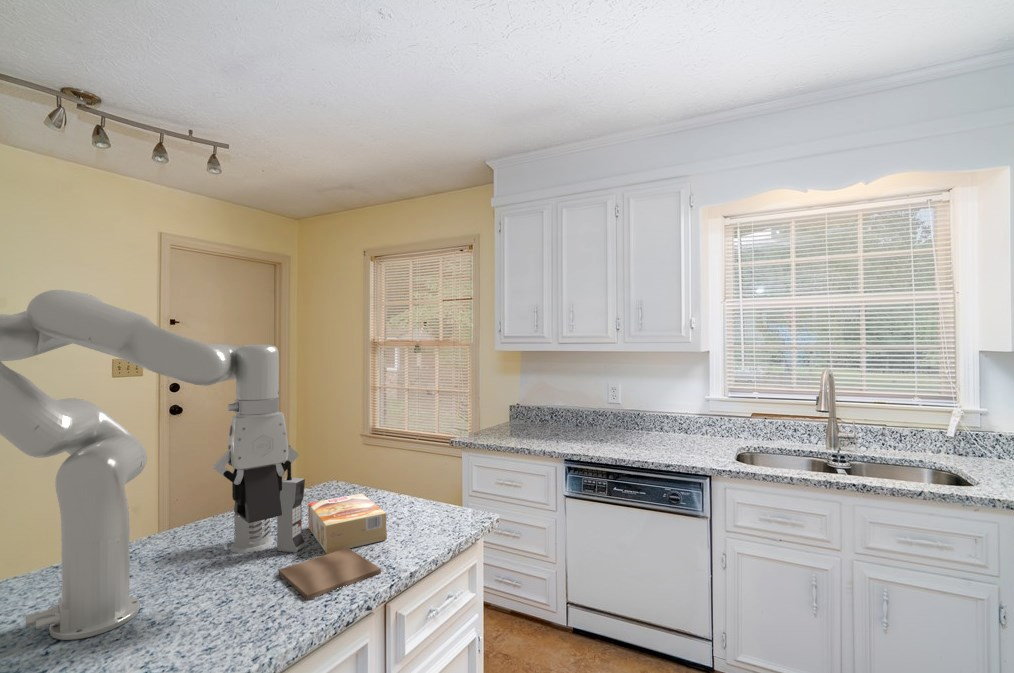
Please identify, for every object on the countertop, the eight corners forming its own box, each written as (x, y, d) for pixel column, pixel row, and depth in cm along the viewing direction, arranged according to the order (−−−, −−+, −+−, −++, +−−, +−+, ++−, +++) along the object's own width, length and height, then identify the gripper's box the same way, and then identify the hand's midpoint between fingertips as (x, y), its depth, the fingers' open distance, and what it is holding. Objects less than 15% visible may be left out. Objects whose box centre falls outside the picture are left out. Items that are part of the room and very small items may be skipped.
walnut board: (307, 600, 97) (307, 595, 97) (278, 574, 108) (278, 569, 108) (380, 573, 109) (380, 568, 109) (347, 551, 119) (347, 547, 119)
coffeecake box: (325, 524, 118) (307, 502, 134) (326, 555, 118) (307, 529, 134) (387, 511, 126) (362, 492, 142) (387, 540, 126) (363, 517, 142)
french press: (219, 550, 120) (219, 446, 120) (255, 532, 131) (255, 436, 131) (254, 555, 118) (254, 448, 118) (287, 535, 129) (287, 438, 129)
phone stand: (282, 515, 97) (282, 454, 97) (248, 523, 93) (248, 459, 93) (265, 504, 104) (265, 446, 104) (233, 511, 100) (233, 451, 100)
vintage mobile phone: (295, 553, 118) (295, 447, 118) (277, 551, 119) (277, 446, 119) (305, 546, 122) (305, 444, 122) (286, 545, 123) (287, 443, 123)
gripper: (213, 414, 90) (213, 515, 90) (309, 405, 102) (309, 493, 102) (202, 410, 95) (202, 505, 95) (294, 401, 107) (294, 486, 107)
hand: (257, 498), depth 98 cm, fingers closed on phone stand, 6 cm apart
